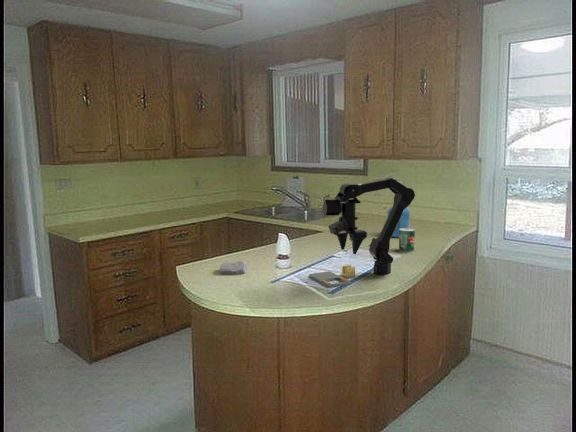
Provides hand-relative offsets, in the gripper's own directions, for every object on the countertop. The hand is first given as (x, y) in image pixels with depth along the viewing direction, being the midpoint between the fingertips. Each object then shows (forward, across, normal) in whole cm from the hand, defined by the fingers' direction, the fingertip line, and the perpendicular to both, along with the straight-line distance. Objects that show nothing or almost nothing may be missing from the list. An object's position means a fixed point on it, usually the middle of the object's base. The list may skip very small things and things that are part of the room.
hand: (348, 251), depth 195 cm
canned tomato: (+12, -29, +53) cm, 61 cm away
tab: (+11, 0, 0) cm, 11 cm away
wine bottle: (+12, -61, +72) cm, 95 cm away
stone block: (+12, -33, -40) cm, 53 cm away
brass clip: (+10, 0, 0) cm, 10 cm away
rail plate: (+11, +1, -10) cm, 15 cm away
